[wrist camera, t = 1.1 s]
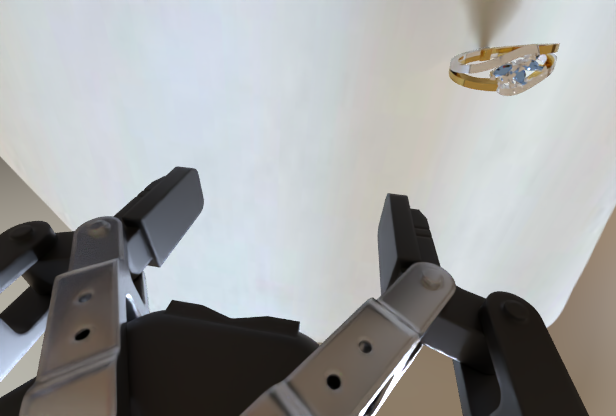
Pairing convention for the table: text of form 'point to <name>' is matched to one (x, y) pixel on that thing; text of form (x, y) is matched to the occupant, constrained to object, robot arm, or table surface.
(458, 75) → the ring
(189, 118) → the table surface
